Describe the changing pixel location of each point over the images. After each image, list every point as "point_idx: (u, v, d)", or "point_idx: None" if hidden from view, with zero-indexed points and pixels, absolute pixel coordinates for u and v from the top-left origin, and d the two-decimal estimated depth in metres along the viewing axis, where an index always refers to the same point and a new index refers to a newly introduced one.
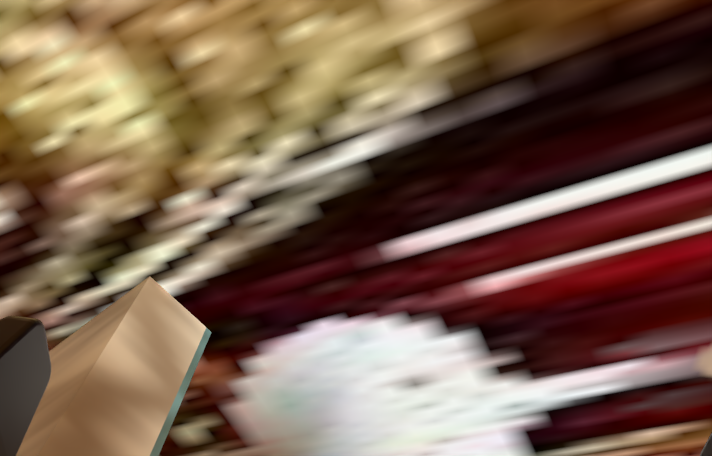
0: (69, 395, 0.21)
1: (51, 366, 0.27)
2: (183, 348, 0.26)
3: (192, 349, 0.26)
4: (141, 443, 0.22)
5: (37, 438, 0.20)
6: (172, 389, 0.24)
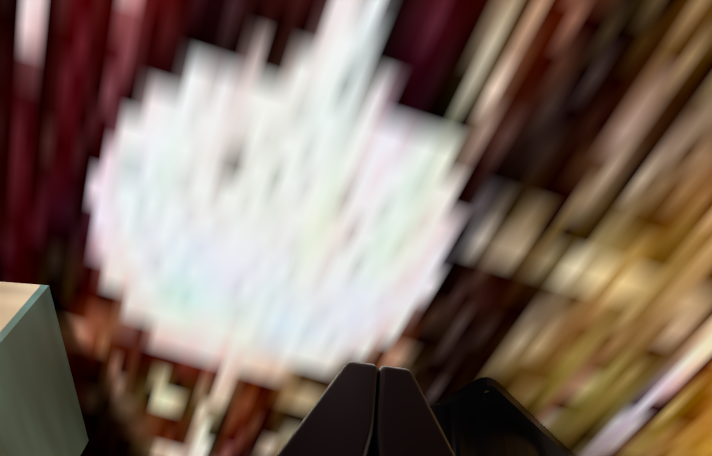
0: None
1: None
2: None
3: (13, 310, 0.23)
4: None
5: None
6: None
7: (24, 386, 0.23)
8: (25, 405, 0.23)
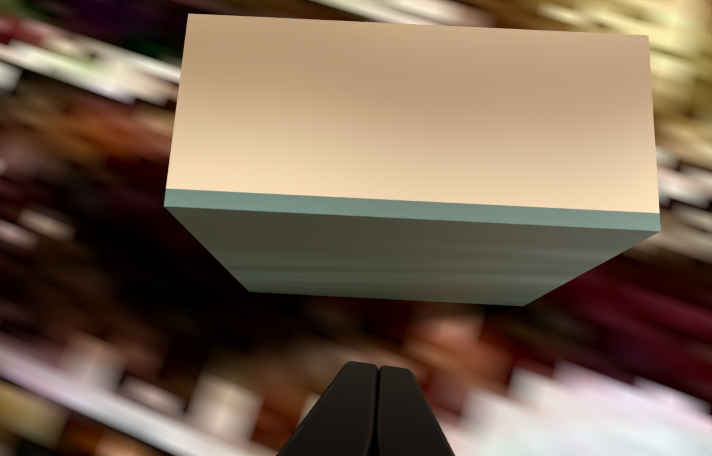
0: None
1: None
2: None
3: None
4: None
5: None
6: None
7: (456, 287, 0.17)
8: (433, 284, 0.17)
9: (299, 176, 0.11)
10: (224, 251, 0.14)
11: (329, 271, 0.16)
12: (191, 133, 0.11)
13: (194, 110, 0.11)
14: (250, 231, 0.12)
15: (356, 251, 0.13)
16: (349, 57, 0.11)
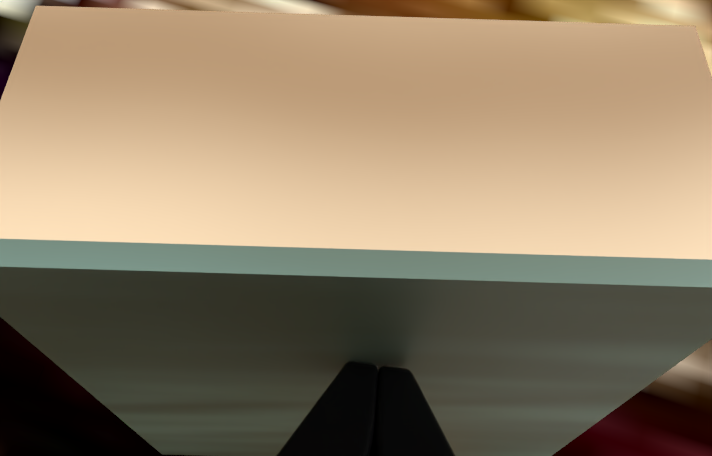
0: None
1: None
2: None
3: None
4: None
5: None
6: None
7: (445, 433, 0.12)
8: None
9: (176, 215, 0.07)
10: (91, 373, 0.09)
11: (259, 409, 0.11)
12: (9, 156, 0.07)
13: (20, 125, 0.07)
14: (110, 324, 0.08)
15: (288, 364, 0.09)
16: (266, 55, 0.08)
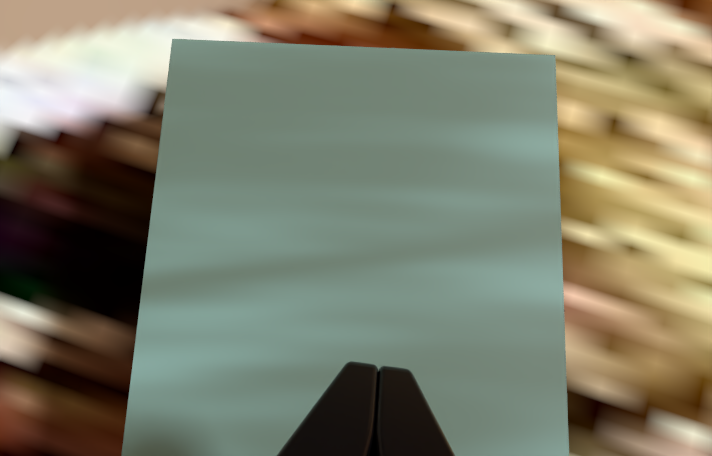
0: None
1: None
2: None
3: None
4: None
5: None
6: None
7: (440, 357, 0.12)
8: (406, 341, 0.12)
9: None
10: (171, 192, 0.13)
11: (274, 281, 0.13)
12: None
13: None
14: (222, 105, 0.14)
15: (314, 166, 0.13)
16: None
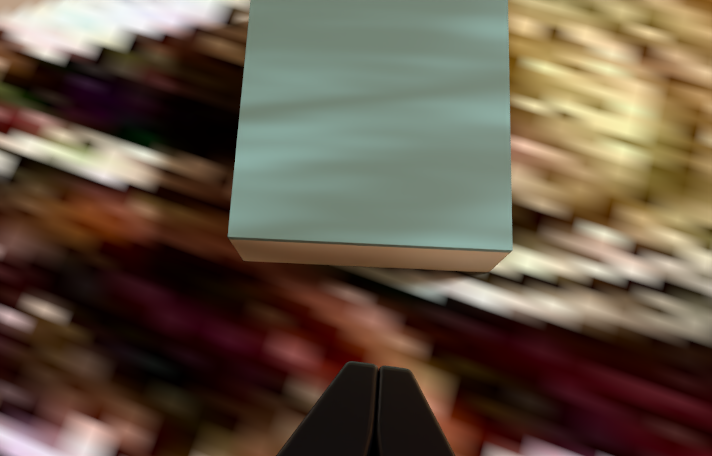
0: None
1: None
2: None
3: None
4: None
5: None
6: None
7: (430, 156, 0.19)
8: (410, 146, 0.19)
9: None
10: (256, 56, 0.20)
11: (324, 110, 0.20)
12: None
13: None
14: (288, 2, 0.21)
15: (349, 41, 0.20)
16: None
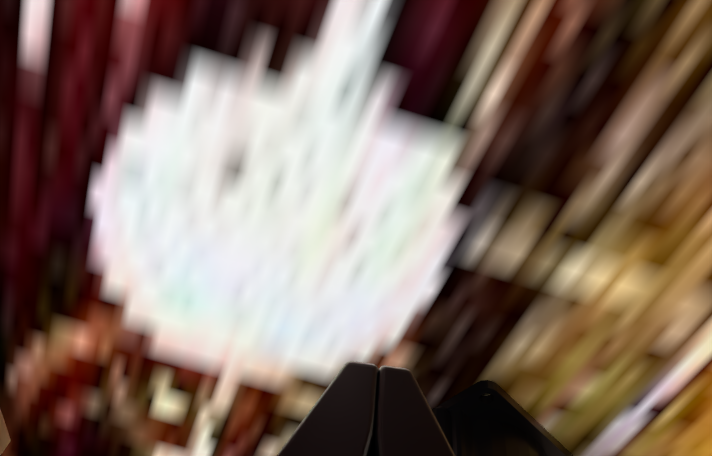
0: None
1: None
2: None
3: None
4: None
5: None
6: None
7: None
8: None
9: None
10: None
11: None
12: None
13: None
14: None
15: None
16: None
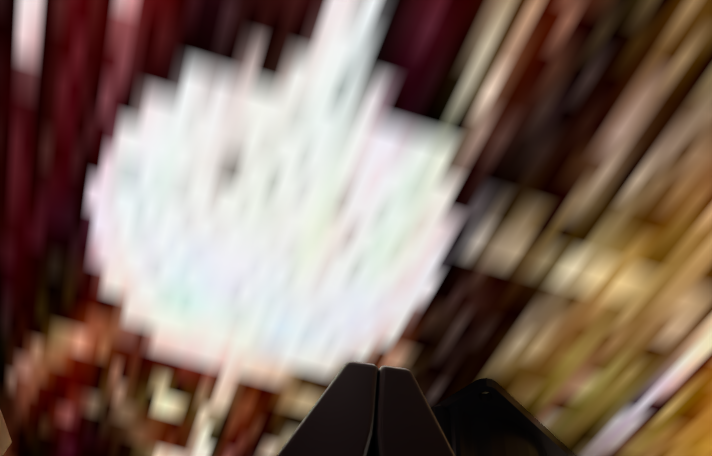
0: None
1: None
2: None
3: None
4: None
5: None
6: None
7: None
8: None
9: None
10: None
11: None
12: None
13: None
14: None
15: None
16: None
